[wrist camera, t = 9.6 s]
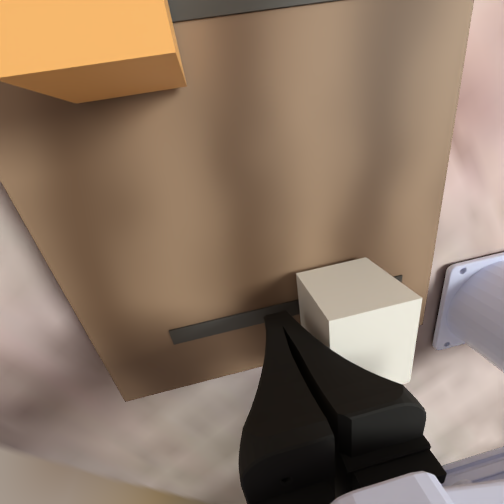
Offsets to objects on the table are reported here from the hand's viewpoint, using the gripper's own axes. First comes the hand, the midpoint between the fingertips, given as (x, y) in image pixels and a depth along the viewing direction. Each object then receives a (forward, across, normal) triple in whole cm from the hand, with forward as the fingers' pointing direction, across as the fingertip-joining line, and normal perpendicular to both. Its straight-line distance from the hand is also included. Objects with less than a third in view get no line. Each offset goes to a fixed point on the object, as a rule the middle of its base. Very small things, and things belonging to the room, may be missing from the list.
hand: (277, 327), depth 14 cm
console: (+3, 0, -6) cm, 7 cm away
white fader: (+1, -4, 0) cm, 4 cm away
